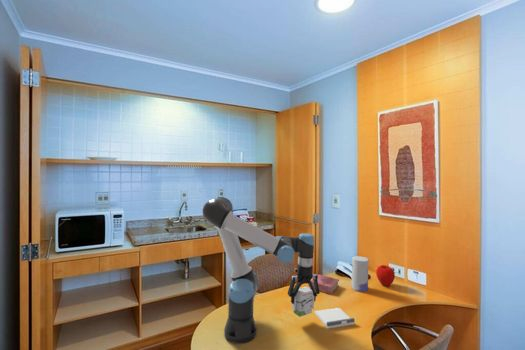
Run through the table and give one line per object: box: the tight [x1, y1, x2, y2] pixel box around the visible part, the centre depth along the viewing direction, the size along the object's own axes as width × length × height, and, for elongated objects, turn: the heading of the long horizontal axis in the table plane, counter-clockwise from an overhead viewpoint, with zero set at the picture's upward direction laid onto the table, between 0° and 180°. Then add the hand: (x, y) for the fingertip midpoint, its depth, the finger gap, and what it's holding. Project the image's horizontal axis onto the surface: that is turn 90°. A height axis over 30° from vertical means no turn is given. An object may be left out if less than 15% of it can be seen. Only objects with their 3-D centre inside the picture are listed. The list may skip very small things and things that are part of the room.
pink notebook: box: [311, 273, 340, 295], centre depth 174 cm, size 14×15×5 cm
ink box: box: [293, 286, 313, 317], centre depth 134 cm, size 9×5×12 cm, turn 123°
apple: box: [375, 264, 396, 288], centre depth 179 cm, size 12×12×13 cm
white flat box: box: [314, 307, 355, 330], centre depth 138 cm, size 15×14×3 cm
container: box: [351, 255, 370, 293], centre depth 173 cm, size 10×10×20 cm
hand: (302, 308), depth 134 cm, fingers closed on ink box, 9 cm apart
